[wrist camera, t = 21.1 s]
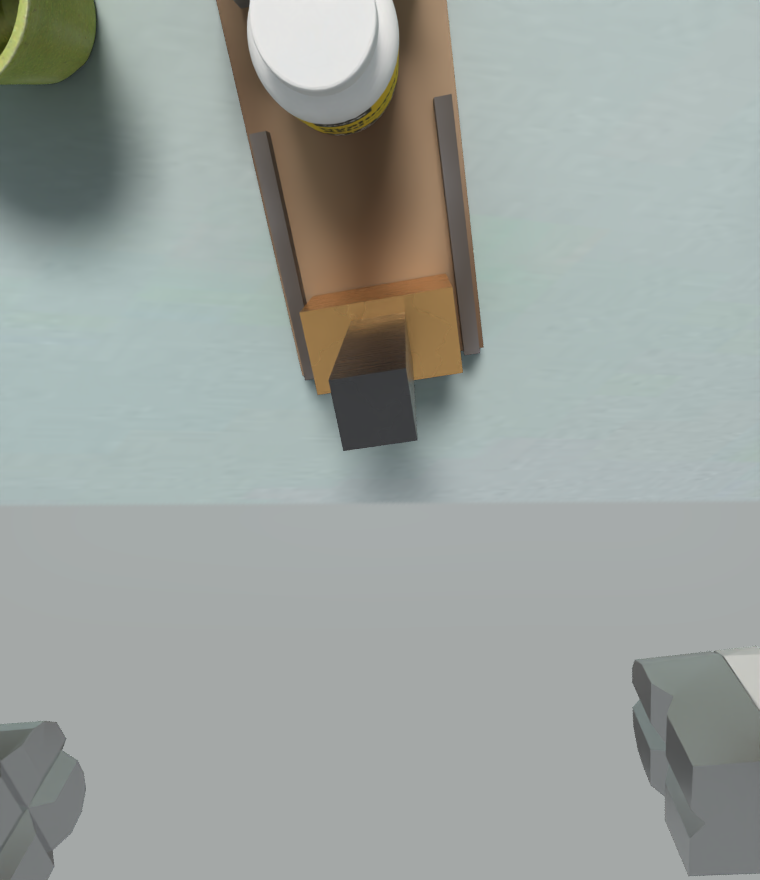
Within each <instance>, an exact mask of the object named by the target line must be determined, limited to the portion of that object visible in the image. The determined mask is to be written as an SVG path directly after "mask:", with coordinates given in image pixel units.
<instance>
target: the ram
mask: <svg viewBox="0 0 760 880" xmlns="http://www.w3.org/2000/svg"><path fill="white" fill-rule="evenodd" d="M300 318H301V322H302V327H303V331H304V336H305V340H306V344H307V349H308V353H309V358H310V362H311V367H312V371H313V376H314V380H315V385H316V389H317V394H318V395H320V394H327V393H331V395H332V399H333V404H334V409H335V413H336V418H337V423H338V428H339V432H340V437H341V442H342V446H343V451H346V450H353V449H360V448H367V447H374V446H381V445H388V444H395V443H402V442H409V441H416V440H417V424H416V406H415V389H414V380H418V379H425V378H431V377H438V376H444V375H451V374H457V373H463V369H462V361H461V353H460V345H459V337H458V328H457V320H456V312H455V304H454V296H453V287H452V285H451V283H450V281H449V279H448V277H447V275H446V273H445V274H439V275H434V276H428V277H422V278H416V279H410V280H404V281H398V282H392V283H387V284H381V285H375V286H369V287H363V288H357V289H351V290H345V291H339V292H334V293H328V294H322V295H316V296H312V298H311V299H310V300H309V301H308V303H307V304H306V305H305V306H304V308H303V309H302V310H301V311H300Z"/></svg>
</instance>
